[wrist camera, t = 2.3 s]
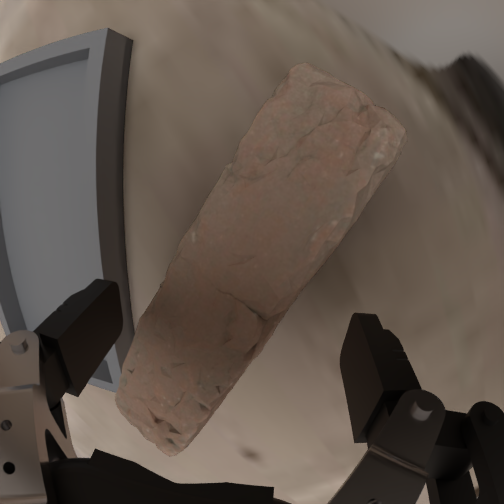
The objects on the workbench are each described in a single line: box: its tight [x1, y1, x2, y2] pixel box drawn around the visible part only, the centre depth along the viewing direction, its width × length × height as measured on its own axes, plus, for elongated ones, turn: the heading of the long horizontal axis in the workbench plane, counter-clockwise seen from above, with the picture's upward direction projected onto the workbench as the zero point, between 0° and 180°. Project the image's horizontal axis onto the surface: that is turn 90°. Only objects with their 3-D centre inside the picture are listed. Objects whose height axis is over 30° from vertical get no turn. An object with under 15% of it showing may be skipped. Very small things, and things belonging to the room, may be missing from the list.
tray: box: [0, 28, 135, 393], centre depth 17 cm, size 13×24×3 cm, turn 175°
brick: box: [115, 63, 407, 457], centre depth 13 cm, size 16×8×5 cm
